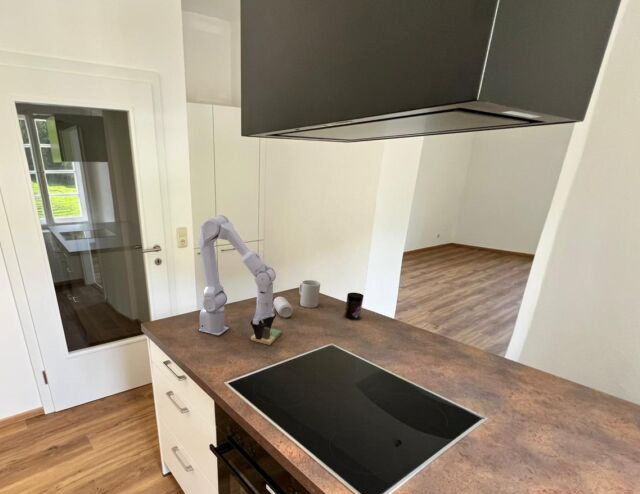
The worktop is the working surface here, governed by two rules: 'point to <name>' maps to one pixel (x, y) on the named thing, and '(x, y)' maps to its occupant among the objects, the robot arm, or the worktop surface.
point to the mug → (309, 293)
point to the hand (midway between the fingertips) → (262, 335)
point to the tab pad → (264, 337)
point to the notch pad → (275, 333)
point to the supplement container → (353, 306)
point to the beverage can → (283, 307)
